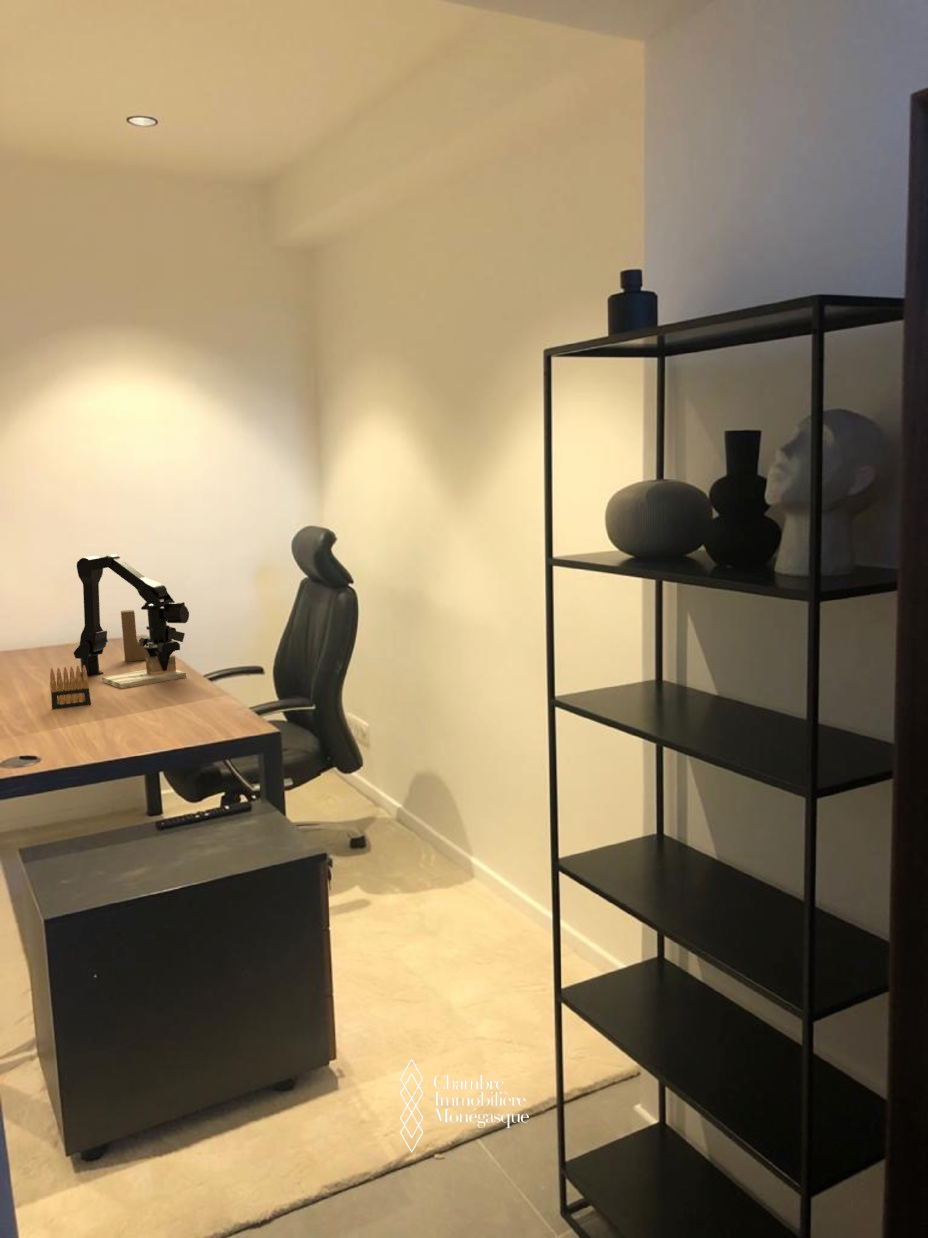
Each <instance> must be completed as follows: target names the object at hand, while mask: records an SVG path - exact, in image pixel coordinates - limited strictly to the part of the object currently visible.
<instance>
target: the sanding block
mask: <svg viewBox="0 0 928 1238" xmlns="http://www.w3.org/2000/svg"><path fill="white" fill-rule="evenodd" d="M176 663H177V662H176V656H175V655H172V654H171V655H170V658H169V662H168V666H167V670H166V671H163V669H162V667H161V665H160V662H159V660H158V657H157V656H154V657H148V658H146V660H145V670H147V673H149V674H152V675H155V674H161V673H167V672H173V671H176V670H177V665H176Z"/></svg>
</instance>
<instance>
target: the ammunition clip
mask: <svg viewBox="0 0 928 1238" xmlns="http://www.w3.org/2000/svg"><path fill="white" fill-rule="evenodd" d="M80 672H81V668H80V666H79V665H77V666H76V670H75V671H74V668H73V666H70V668H69V673H68V669H67V667H66V666H64V668H63V673H61V669H60V668H59V667H57V670H56V676H55V672H54V669H53V668H50V673H49V676H50V678H49V680H50V681H49V684H50V685H49V686H50V696H51V709H52V710H53V711H54V710H61V709H68V708H69V709H70V708H77V707H78V708H79V707H88V706H92V699H91V693H90V685H89V684H90V683H89V678H88V677H89V676H87V670H86V667H85V665H83V676H82V675H81V673H80ZM62 674H63V676H62ZM75 674H76V675H75ZM62 677H63V678H62Z"/></svg>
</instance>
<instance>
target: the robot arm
mask: <svg viewBox="0 0 928 1238" xmlns="http://www.w3.org/2000/svg"><path fill="white" fill-rule="evenodd" d="M106 568H108V569H109V570H111V571H112V572H114V573H115V574H117V575H118V576H119V577H120V578H122V579H123V580H125V582H126V583H129V584H130V585H131V586H132V587H134V588H135V589H136V591H137V592H138V595H139V596H140V597H141V598H142V599H143V600H144V601H145V603H144V604H143V605H142V606H141V607H140V609H141V610H145V611H147V622H148V625H146V627H145V628H146V630H148V634H149V635H148V636H143V637H140V638H139V639H138V642H139V646H142V647H144V646H145V645H146V648H144V650H145V651H146V652H147V654H148V656H149V657H154V656H157V657H158V660H159V662H160V665H161V667H162V669H163V671H166V670H167V666H168V662H169V658H170V655H172V654H173V653H174V652H176V651H181V643H184V639H185V635H186V633H185V632H182V631H178V630H177V628H176V627H173V626H170V625H168V624H186V623H187V622H189V619H190V611H189V609H188V608H187V606H186V605H185V604H186V603H185V602H184V601H181V602H175V600H174V599H173V598H172V596H171V595H170V594H169V592H168V591H167V587H166V586H165V585H164V584H163V583H161V582H158V581H156V580H153V579H150V578H148V577H146V576H144V575H143V574H141V573H140V571H138V570H136V568H134V567H132V566H131V565H130V564H129V563H127V562H125V561H124V560H123V559H122V558H121V556H119V555H118V554H110V555H106V556H104V557H103V556H102V557H99V556H96V555H93V556H86V557H82V558H80V559H78V560H77V562H76V571H77V576H78V578H79V579H80V581H81V583H82V589H83V591H82V592H83V593H82V594H83V616H84V617H83V618H84V626H83V629H82V632H81V634H80V637H79V645H78V647H77V648H76V649H75V650H74V651H73V656H74V657H75V659H76V660H77V659H78V660H79V659H80V660H79V661H80V673H81V677H83V665H85V667H86V670H87V677H91V676H98V675H102V674H104V671H101V670H100V663H99V662H100V661H99V655H102V654H103V652H104V649H105V648H106V646H107V643H108V642H109V641H108V630H107V629H105V630H104V629H103V627H102V626H101V617H100V616H101V613H100V611H101V610H100V586H99V585H100V582H101V579H102V576H103V574H104V573H103V572H104V569H106ZM167 623H168V624H167ZM179 642H180V643H179Z"/></svg>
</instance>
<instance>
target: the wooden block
mask: <svg viewBox="0 0 928 1238" xmlns="http://www.w3.org/2000/svg"><path fill="white" fill-rule="evenodd" d="M135 615H136V613H135V610H134V609H127V610H126V609H125V610H121V611H120V617H121V628H122V629H121V630H122V639H123V640H122V641H123V653H124V661H125V662H128V663H129V662H130V663H131V662H138V661H146V658H148V657H149V656H148V654H147V652H146V651H145V650H144V648H146V645H145V646H144V647H142V646H139V639H138V638H137V637H138V636H137V626H136V616H135Z"/></svg>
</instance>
